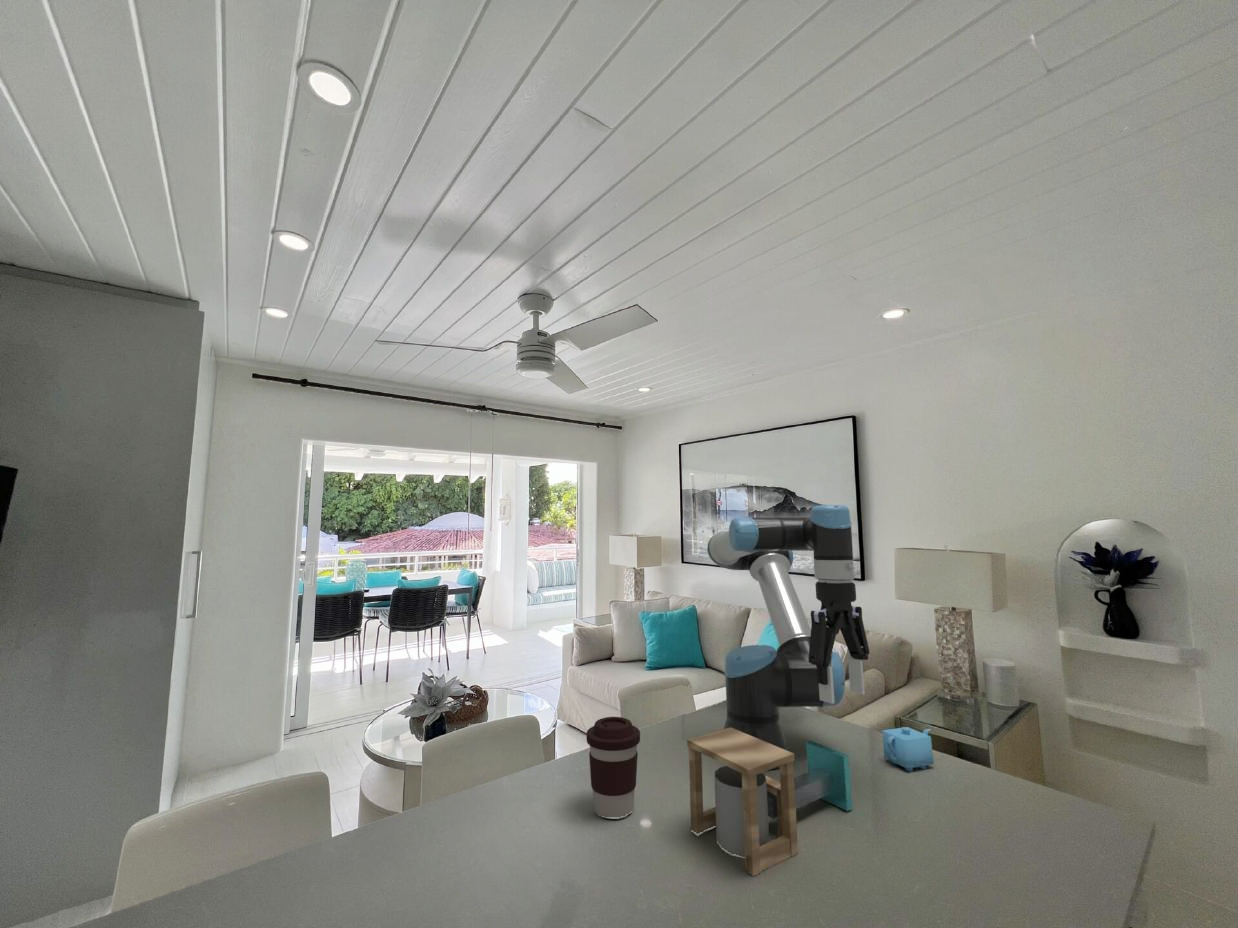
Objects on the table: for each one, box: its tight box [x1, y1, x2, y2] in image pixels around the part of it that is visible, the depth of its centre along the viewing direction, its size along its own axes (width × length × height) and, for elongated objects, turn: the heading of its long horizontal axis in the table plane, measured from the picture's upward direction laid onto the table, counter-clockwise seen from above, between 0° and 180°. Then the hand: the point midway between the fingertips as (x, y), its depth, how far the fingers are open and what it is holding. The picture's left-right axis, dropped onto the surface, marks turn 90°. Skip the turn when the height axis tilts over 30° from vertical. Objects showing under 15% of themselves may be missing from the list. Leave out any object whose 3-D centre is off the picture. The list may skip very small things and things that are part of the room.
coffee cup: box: [586, 716, 641, 817], centre depth 93 cm, size 10×10×15 cm
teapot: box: [881, 726, 934, 772], centre depth 111 cm, size 12×6×8 cm, turn 107°
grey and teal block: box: [767, 740, 853, 820], centre depth 91 cm, size 18×8×9 cm, turn 123°
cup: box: [713, 765, 770, 857], centre depth 83 cm, size 8×8×10 cm
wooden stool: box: [686, 727, 799, 877], centre depth 84 cm, size 14×13×14 cm
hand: (842, 696), depth 100 cm, fingers open, 9 cm apart
